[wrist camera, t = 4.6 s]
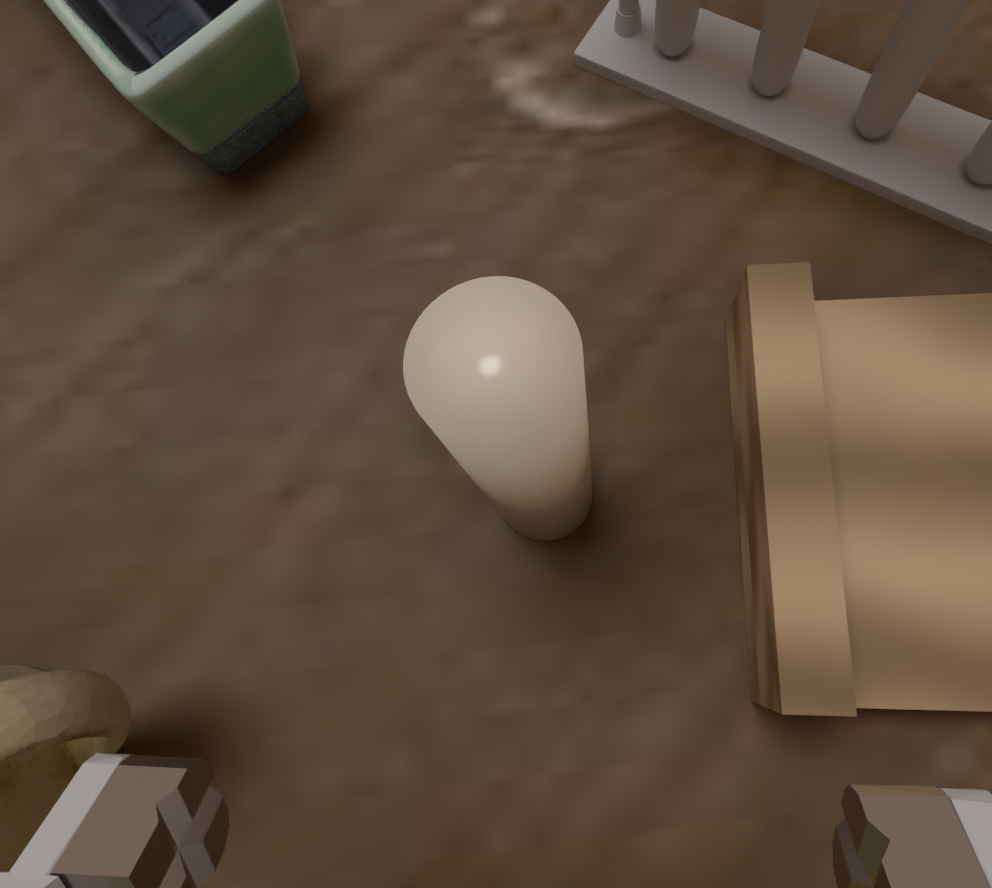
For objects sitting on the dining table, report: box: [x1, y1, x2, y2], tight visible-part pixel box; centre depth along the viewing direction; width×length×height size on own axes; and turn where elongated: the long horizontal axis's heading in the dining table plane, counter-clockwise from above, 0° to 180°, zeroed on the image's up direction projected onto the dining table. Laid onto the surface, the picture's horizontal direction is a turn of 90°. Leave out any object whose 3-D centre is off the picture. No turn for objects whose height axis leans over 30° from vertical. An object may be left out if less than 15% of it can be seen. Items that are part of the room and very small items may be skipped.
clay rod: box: [403, 276, 593, 541], centre depth 21 cm, size 4×4×14 cm
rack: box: [725, 262, 992, 717], centre depth 24 cm, size 14×11×4 cm
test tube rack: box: [574, 0, 992, 245], centre depth 24 cm, size 25×4×13 cm, turn 57°
